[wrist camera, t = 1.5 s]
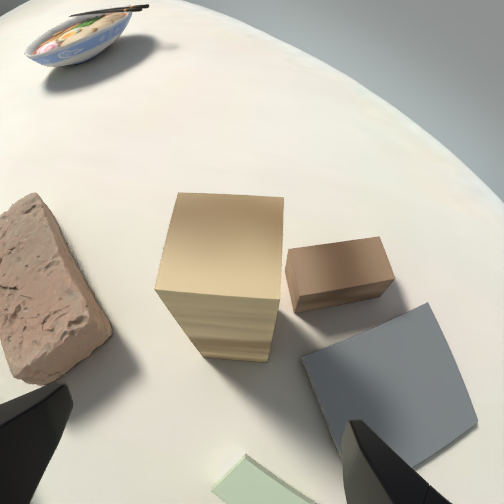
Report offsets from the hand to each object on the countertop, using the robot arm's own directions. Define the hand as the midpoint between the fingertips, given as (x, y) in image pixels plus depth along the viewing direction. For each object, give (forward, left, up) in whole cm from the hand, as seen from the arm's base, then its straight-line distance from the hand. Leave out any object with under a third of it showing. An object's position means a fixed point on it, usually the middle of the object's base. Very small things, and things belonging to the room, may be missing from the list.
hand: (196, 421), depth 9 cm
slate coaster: (-3, -12, -13) cm, 17 cm away
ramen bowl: (+65, +11, -13) cm, 67 cm away
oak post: (+6, -3, -13) cm, 14 cm away
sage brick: (-6, -1, -13) cm, 14 cm away
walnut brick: (+7, -11, -13) cm, 18 cm away
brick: (+14, +13, -13) cm, 23 cm away
